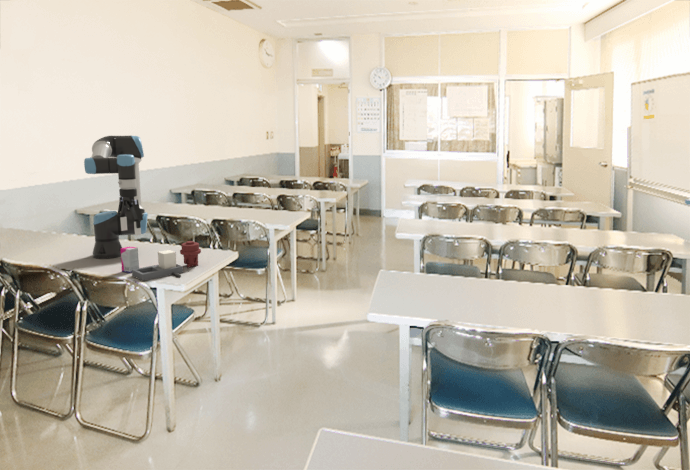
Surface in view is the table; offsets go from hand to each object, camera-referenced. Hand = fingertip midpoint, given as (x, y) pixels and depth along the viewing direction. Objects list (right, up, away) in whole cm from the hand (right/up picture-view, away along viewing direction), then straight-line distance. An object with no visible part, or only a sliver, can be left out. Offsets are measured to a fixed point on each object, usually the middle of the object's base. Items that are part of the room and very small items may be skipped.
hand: (131, 232), depth 252 cm
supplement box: (-2, -19, +3) cm, 19 cm away
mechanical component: (+25, -17, +14) cm, 33 cm away
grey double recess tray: (+16, -20, -4) cm, 26 cm away
